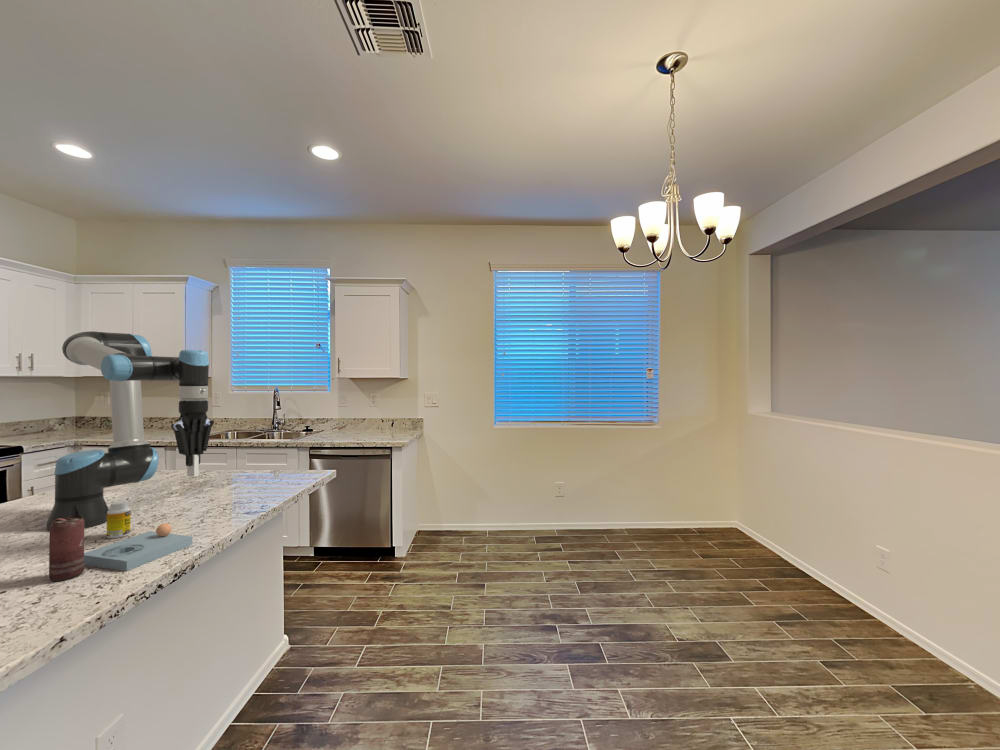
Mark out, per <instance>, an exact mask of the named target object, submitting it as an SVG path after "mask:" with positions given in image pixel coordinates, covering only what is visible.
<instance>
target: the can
mask: <svg viewBox="0 0 1000 750" xmlns="http://www.w3.org/2000/svg"><path fill="white" fill-rule="evenodd" d="M84 521H85V520H84V519H83V517H82V516H72V517H65V518H58V519H56V520H54V521H52V523H51V525H50V530H49V539H48V540H49V544H48V545H49V546H48V548H49V549H48V550H49V551H48V552H49V553H48V555H49V557H48V579H49V580H50V581H51V582H65V581H69V580H72V579H75V578H78V577H80V576H81V575H82V574H84V571H85V565H84V553H85V528H84Z"/></svg>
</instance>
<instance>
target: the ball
mask: <svg viewBox="0 0 1000 750" xmlns="http://www.w3.org/2000/svg"><path fill="white" fill-rule="evenodd" d="M171 531H172V525H171V524H169V523H162V524H160V525H158V526H157V527H156V529H155V532H156V533H157V535H159V536H167V535H168V534H171Z"/></svg>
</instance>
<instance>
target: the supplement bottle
mask: <svg viewBox="0 0 1000 750" xmlns="http://www.w3.org/2000/svg"><path fill="white" fill-rule="evenodd" d="M131 512H132V510H131V507H129V503H128V500H119V501H118V500H117V501H113V502H111V503H110V509H109V510H108V511H107V521H106V537H107V539H119V538H124V537H126V536H129V535H130V534H131V516H132V515H131V514H132V513H131Z"/></svg>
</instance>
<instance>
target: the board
mask: <svg viewBox="0 0 1000 750" xmlns="http://www.w3.org/2000/svg"><path fill="white" fill-rule="evenodd" d="M190 546H193V536H192V535H184V534H176V533H169V534H168V535H167V536H159V535H157V533H156V531H146V532H142V533H140V534H138V535H134V536H131V537H128V538H125V539H122V540H119V541H116V542H112V543H109V544H107V545H105V546H101V547H99V548H95V549H92V550H90V551H89V550H88V551H86V552H84V566H90V567H97V568H103V569H108V570H115V571H116V570H118V571H124V572H128V571H130V570H133V569H135V568H138V567H141V566H144V565H145V564H147V563H150V562H151V563H152V562H154V561H155V560H158V559H161V558H163V557H165V556H168V555H171V554H173V553H176V552H179V551H180V550H183V549H185V548H188V547H190Z"/></svg>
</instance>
